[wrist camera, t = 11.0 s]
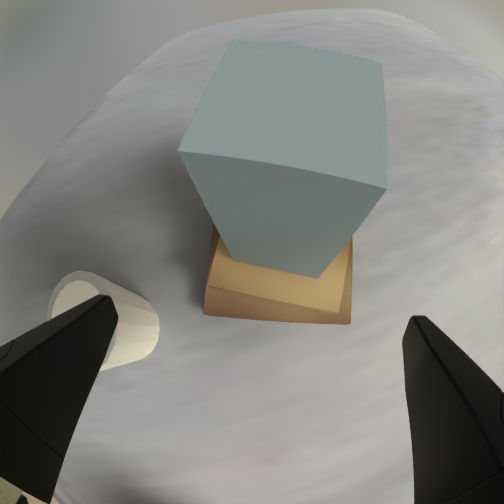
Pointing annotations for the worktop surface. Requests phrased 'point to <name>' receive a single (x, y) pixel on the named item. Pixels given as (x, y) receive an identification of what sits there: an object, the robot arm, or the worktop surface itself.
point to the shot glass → (128, 308)
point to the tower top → (280, 282)
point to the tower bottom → (268, 311)
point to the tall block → (288, 152)
